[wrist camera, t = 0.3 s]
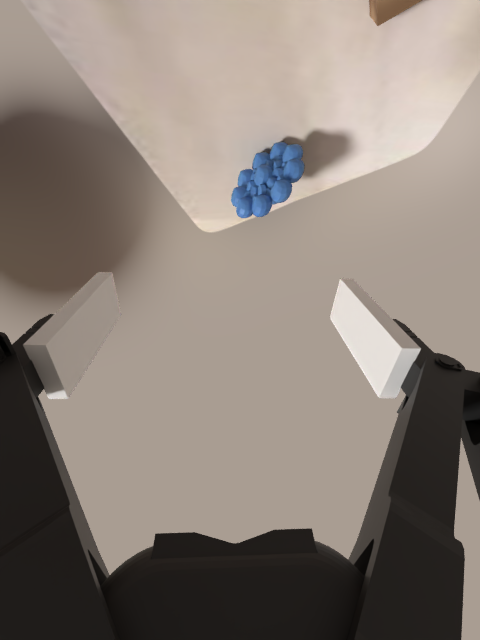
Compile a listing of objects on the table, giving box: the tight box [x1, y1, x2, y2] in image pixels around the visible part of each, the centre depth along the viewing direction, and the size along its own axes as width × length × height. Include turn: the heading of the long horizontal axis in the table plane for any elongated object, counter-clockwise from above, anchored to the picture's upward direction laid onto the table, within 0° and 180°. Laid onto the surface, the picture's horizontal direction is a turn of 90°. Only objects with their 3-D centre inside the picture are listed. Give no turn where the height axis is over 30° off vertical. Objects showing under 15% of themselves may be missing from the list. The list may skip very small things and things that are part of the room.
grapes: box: [231, 142, 305, 218], centre depth 39 cm, size 12×7×12 cm, turn 122°
